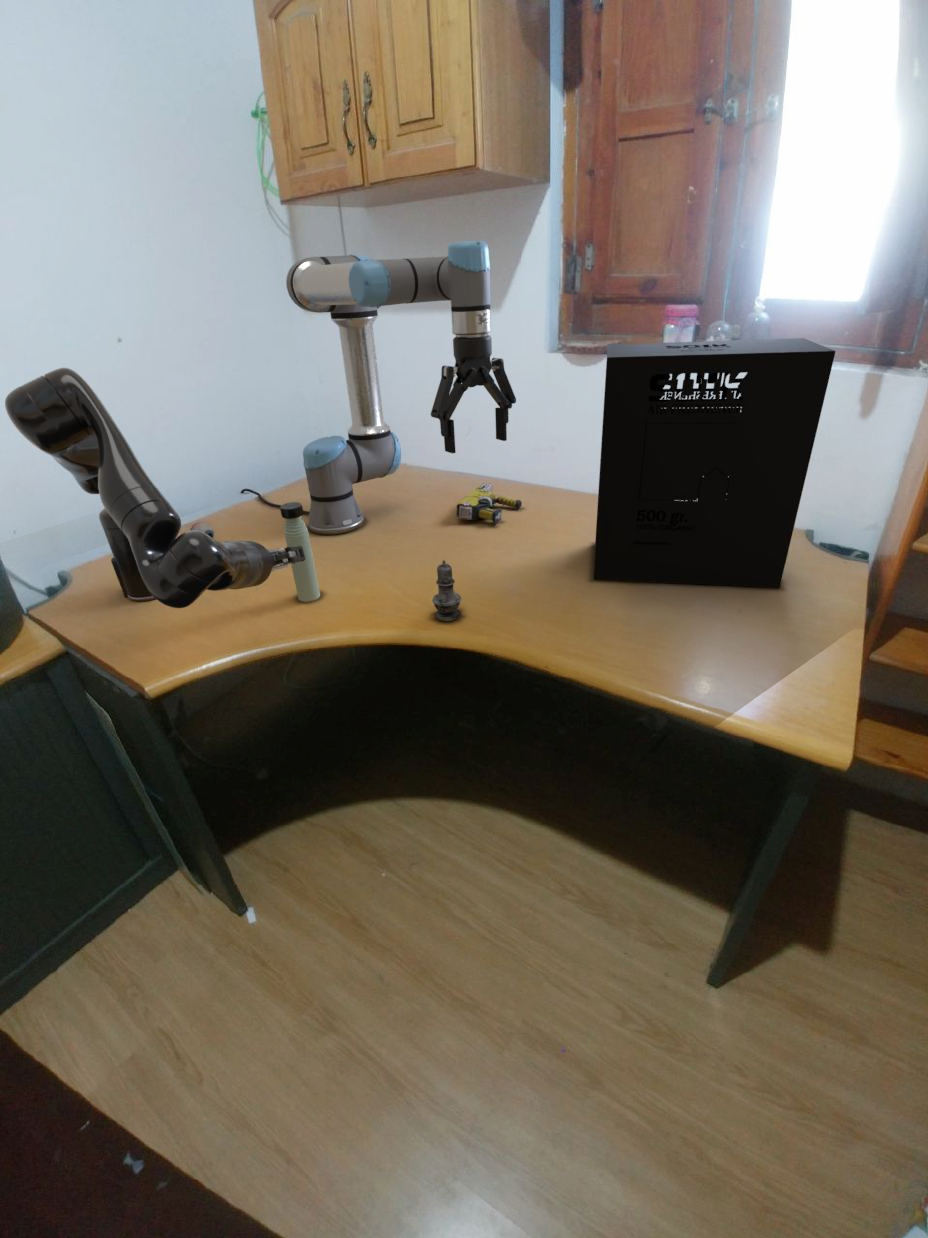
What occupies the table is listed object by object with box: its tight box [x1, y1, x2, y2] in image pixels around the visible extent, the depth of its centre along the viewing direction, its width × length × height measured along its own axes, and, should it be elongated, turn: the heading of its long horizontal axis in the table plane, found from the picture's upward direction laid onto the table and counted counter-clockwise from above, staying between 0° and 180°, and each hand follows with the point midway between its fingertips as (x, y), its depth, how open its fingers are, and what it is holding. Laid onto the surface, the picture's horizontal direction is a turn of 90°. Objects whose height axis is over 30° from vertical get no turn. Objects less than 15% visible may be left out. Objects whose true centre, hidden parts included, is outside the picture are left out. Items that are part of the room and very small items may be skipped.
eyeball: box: [189, 521, 215, 540], centre depth 160 cm, size 6×6×6 cm
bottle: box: [284, 516, 321, 603], centre depth 127 cm, size 5×5×20 cm
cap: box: [279, 501, 304, 520], centre depth 122 cm, size 4×4×2 cm
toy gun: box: [455, 482, 523, 525], centre depth 172 cm, size 5×24×15 cm
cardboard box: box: [592, 337, 836, 589], centre depth 125 cm, size 38×20×45 cm, turn 78°
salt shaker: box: [431, 560, 462, 622], centre depth 119 cm, size 6×6×12 cm
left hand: (275, 561), depth 111 cm, fingers open, 8 cm apart
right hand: (476, 445), depth 127 cm, fingers open, 13 cm apart
